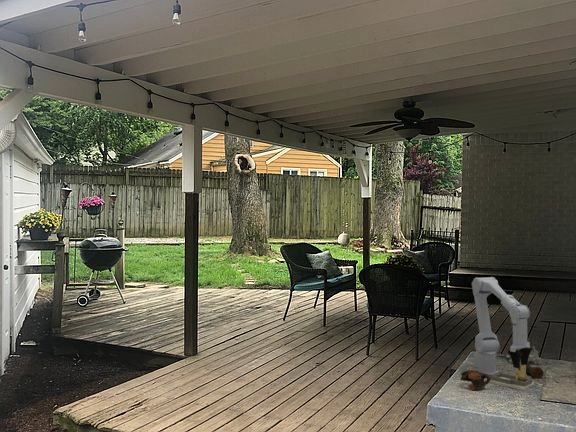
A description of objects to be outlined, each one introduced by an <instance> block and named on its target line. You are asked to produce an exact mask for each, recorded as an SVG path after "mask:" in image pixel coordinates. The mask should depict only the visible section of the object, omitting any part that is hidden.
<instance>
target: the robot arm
mask: <svg viewBox="0 0 576 432" xmlns="http://www.w3.org/2000/svg"><path fill="white" fill-rule="evenodd" d="M471 288H472V294H473V296H474V304H475V310H476V317H477V324H478V331H479V332H478V333H477V334H476V335H475V337H474V338H475V342H474V348H475V350H476V351H475V352H474V353H473V358H472V360H473V361H472V365H473V366H472V367H473V369H472V371H473V370H476V371H479V374H487V375H489V376H492V375H495V374H497V373H500V370H497V369H496V368H497V365H496V364H497V363H496V361H497V359H496V358H497V357H496V356H497V355H496V354H498V351H499V350H500V346H501V345H500V342H499V339H498V336H497V334H495V333H494V332H493V331H492V326H491V319H490V313H489V305H488V301H487V298H488V297H489V296H490V295H491V294H493V295H494V296H496V297H497V298H498V299H499V300H500V304H501V305H502V306H503V307H504V308H505V310H507V311H508V314H509V317H510V319H511V324H512V344H511V345H510V346H509V349H508V350H507V353H508V355H510V360H512V363H511V364H512V365H513V366H512V367H513V368H515V369H516V368H519V366H520V363H522V364H525V365H527V363H528V358H529V355H530V353H531V351H533V347H531V345H530V343H531V342H530V341H528V319H530V317H531V311H530V308H529V307H528V305H525V304H524V305H523V304H521V303H520V302H519V301H518V300H517V299H516V298H515V297H514V295H513V294H507V293H506V292H505V290H504V289H502V287H501V286H500V285H499V281H498V280H497V279H496V277H494V276H490V277H489V276H488V277H474V278H473V280H472V281H471ZM529 347H530V348H529ZM520 359H521V362H520Z"/></svg>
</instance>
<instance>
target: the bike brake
mask: <svg viewBox="0 0 576 432" xmlns="http://www.w3.org/2000/svg"><path fill="white" fill-rule="evenodd" d="M535 347H536V346H532V351H531V353H530V355H529V358H528V362H529V363H528V362H527V363H528V364H532V363H535V362H534V361H536V363H538V364H540V362H541V360H542V358H541V357H539V351H538V350H536V348H535ZM529 348H531V346H530V347H529ZM496 358H506V360H507V361H508V363H509V364H513V363H512V359H511V357H510V355H509V354H506V356H504V355H496ZM520 363H521V359H520Z"/></svg>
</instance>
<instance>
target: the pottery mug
mask: <svg viewBox="0 0 576 432" xmlns="http://www.w3.org/2000/svg"><path fill="white" fill-rule="evenodd" d="M460 375H461V377H460V381H463V382H471V384H468V389H469V391H475V390H477V391H483V390H484V389H483V388H485V386H487V385H489V384H490V383H489V382H490V375H488V374H483V373H479V371H476V370H473V369H472V370H468V371H467V370H466V371H463V372H461V373H460ZM485 378H486V381H485Z"/></svg>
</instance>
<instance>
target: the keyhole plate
mask: <svg viewBox="0 0 576 432" xmlns="http://www.w3.org/2000/svg"><path fill="white" fill-rule="evenodd" d="M489 377H490V382H489V383H488V384H493V385H494V384H495V385H498V386H502V387H503V386H504V387H508V388H513V389H517V390H521V391H524V390H525V389H527V388H529V387H530V388H531V386H534V385H535V382H534V381H533V379H532V378H531V379H530V378H527V377H526V381H524V382H521V381H516V374H509V373H505V372H498V373H496V374H493V375H489Z"/></svg>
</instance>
